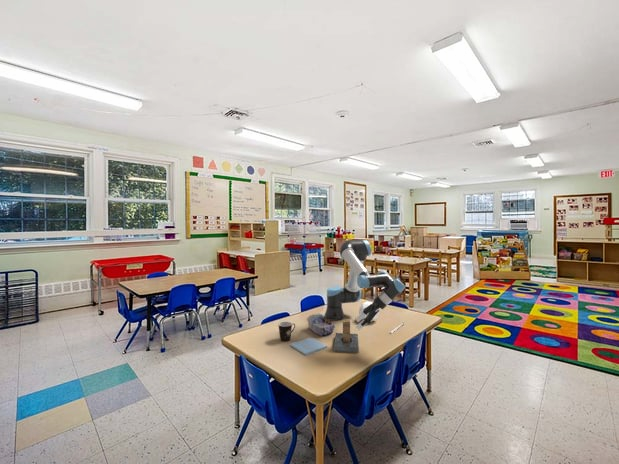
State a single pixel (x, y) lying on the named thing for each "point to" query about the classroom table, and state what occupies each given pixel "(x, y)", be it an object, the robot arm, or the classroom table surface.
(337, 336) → the socket block
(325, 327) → the cell model
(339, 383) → the classroom table surface
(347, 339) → the walnut peg
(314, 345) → the blue board
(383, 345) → the classroom table surface
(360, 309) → the geometric sphere
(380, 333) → the classroom table surface
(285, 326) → the coffee mug
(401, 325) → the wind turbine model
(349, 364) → the classroom table surface
